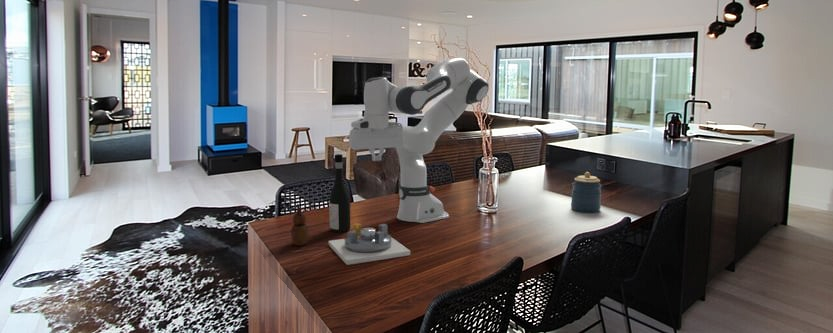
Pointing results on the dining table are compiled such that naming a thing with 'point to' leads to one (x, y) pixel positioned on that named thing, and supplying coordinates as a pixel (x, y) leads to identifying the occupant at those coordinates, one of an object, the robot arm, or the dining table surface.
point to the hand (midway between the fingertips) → (376, 160)
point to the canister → (586, 194)
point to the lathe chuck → (367, 239)
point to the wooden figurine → (299, 228)
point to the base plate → (357, 257)
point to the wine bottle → (339, 201)
